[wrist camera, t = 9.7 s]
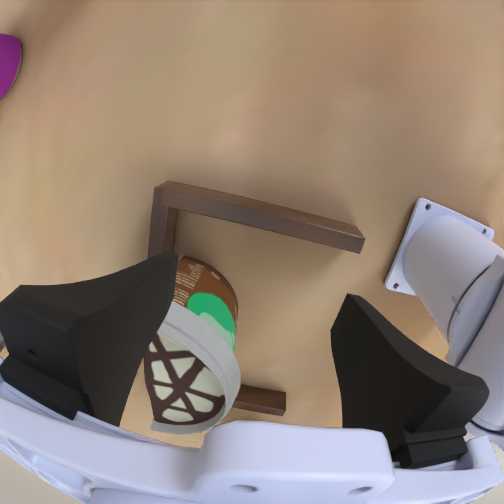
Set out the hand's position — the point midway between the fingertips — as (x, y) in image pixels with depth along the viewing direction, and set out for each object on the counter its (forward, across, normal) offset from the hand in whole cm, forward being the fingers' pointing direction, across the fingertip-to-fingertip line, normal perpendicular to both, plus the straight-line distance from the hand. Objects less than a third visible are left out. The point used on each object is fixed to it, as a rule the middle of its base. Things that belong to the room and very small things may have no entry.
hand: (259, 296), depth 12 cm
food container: (+11, +2, +9) cm, 14 cm away
